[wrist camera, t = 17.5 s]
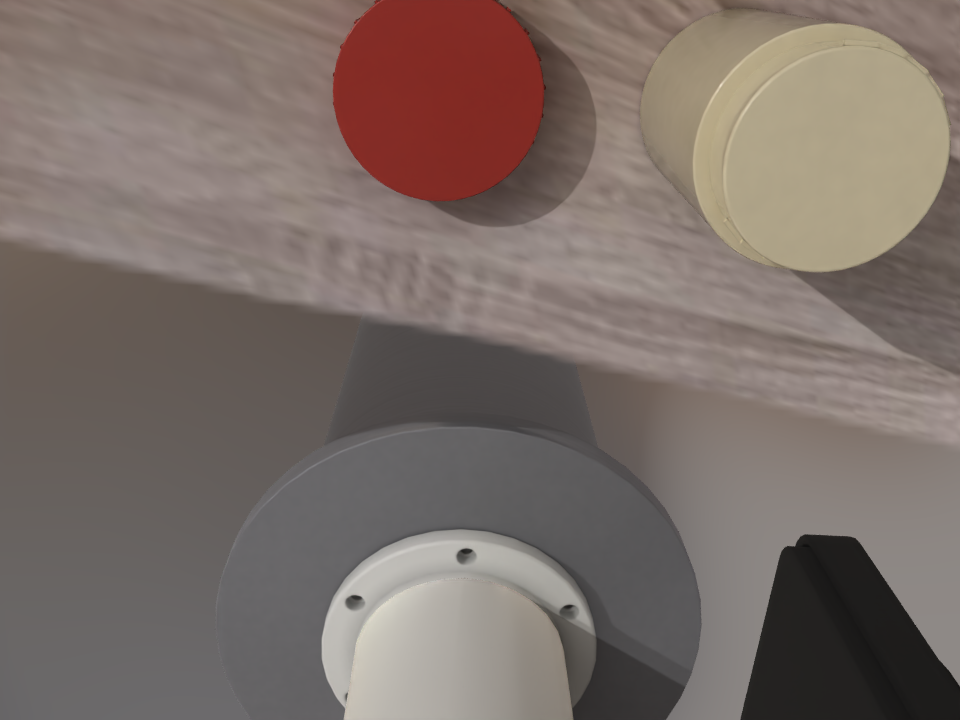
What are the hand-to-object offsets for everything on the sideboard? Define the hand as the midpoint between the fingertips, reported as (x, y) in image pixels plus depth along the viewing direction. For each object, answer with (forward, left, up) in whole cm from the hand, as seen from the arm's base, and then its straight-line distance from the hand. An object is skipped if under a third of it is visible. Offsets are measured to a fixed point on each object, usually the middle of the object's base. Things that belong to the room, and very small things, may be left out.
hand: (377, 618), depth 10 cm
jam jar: (+3, -10, -23) cm, 26 cm away
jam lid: (+3, 0, -22) cm, 22 cm away
